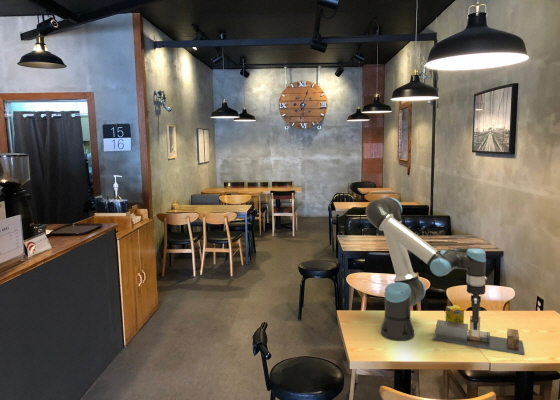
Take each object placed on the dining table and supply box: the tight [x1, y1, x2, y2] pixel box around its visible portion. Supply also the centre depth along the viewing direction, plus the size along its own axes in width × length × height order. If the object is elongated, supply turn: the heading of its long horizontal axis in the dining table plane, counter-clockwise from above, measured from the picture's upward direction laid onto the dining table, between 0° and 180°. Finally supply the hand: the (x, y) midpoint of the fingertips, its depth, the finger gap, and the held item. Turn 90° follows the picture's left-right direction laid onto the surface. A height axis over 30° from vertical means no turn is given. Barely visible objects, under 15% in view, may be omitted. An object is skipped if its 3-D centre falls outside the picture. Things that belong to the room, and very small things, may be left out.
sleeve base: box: [432, 319, 525, 356], centre depth 188 cm, size 36×12×6 cm, turn 64°
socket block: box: [506, 328, 520, 349], centre depth 182 cm, size 4×8×6 cm, turn 154°
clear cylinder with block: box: [467, 315, 491, 341], centre depth 190 cm, size 20×4×10 cm, turn 64°
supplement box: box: [445, 304, 465, 323], centre depth 201 cm, size 6×6×11 cm
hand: (475, 330), depth 188 cm, fingers open, 13 cm apart
